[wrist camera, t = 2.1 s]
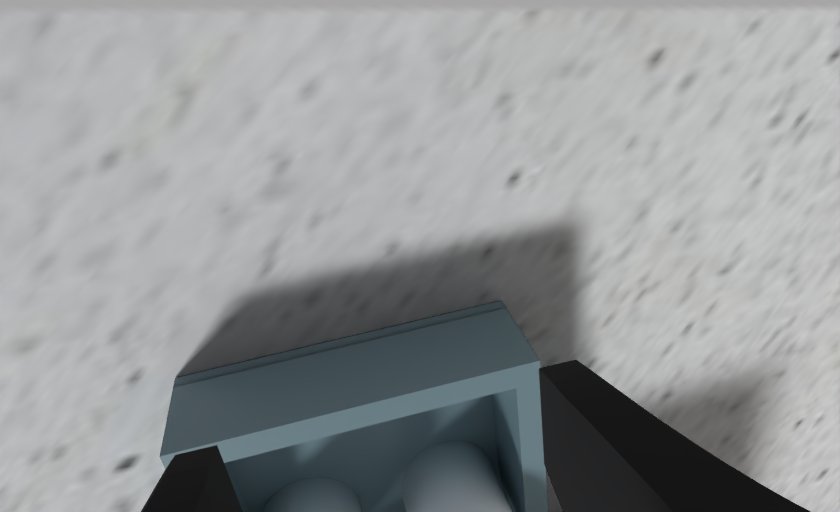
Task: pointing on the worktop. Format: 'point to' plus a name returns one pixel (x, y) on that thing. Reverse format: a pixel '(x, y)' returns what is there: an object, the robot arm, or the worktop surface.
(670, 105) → the worktop surface
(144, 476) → the worktop surface
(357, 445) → the tray
